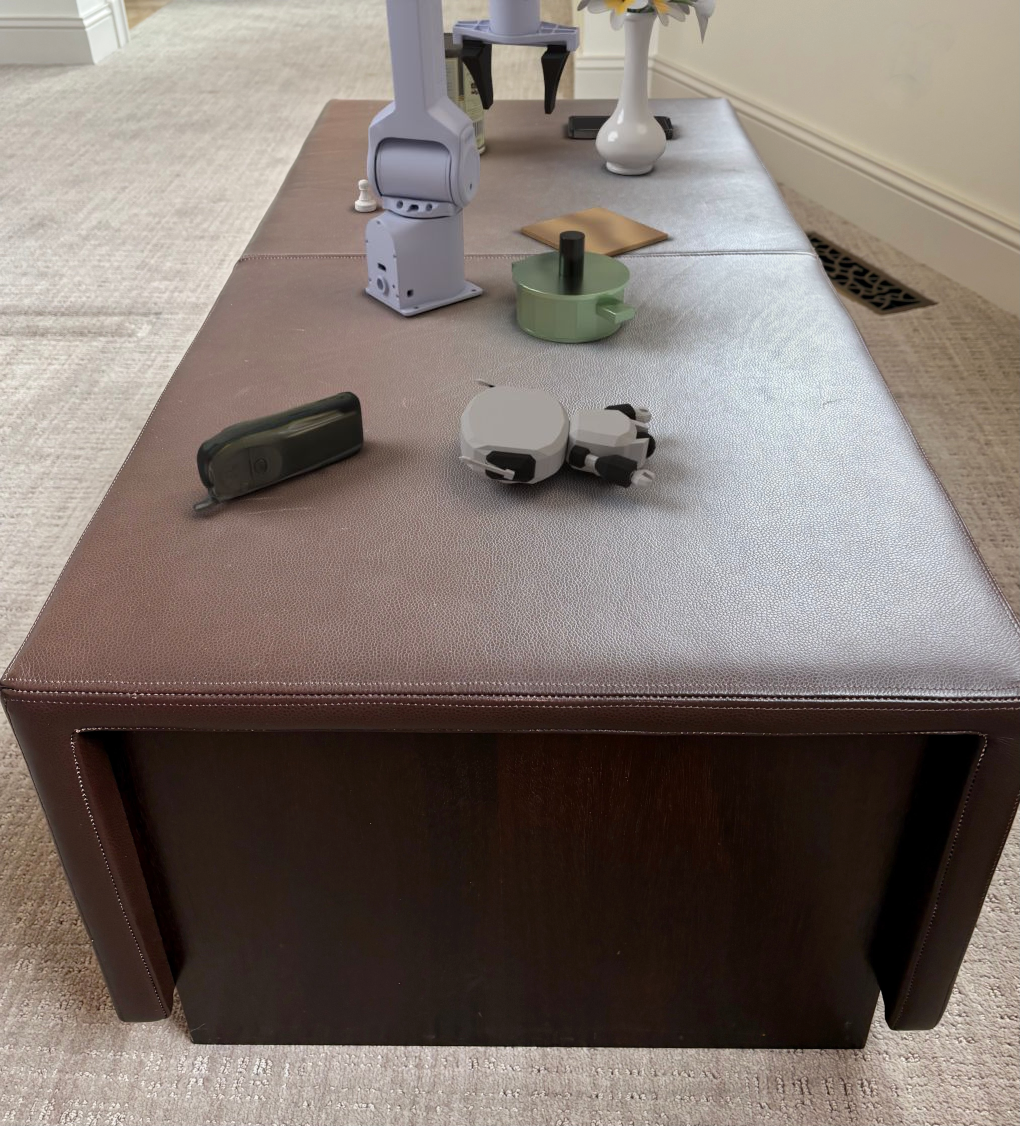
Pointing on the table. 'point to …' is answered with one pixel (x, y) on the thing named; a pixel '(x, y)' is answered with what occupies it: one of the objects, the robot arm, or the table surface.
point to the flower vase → (638, 81)
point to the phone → (592, 124)
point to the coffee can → (463, 89)
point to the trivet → (597, 231)
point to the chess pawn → (365, 198)
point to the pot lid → (571, 272)
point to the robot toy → (552, 438)
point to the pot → (571, 316)
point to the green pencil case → (279, 447)
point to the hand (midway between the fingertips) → (518, 108)
